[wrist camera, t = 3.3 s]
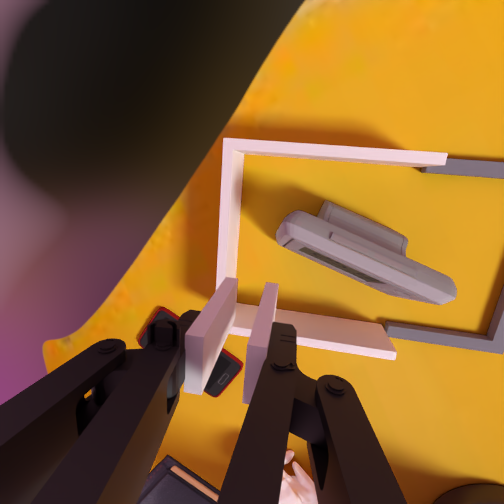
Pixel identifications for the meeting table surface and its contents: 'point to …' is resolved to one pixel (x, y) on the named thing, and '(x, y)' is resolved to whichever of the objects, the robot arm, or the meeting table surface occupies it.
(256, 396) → the robot arm
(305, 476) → the pale pink lumpy piece
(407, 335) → the frame
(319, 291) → the meeting table surface
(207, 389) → the cell phone
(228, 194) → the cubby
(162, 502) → the wallet
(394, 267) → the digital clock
